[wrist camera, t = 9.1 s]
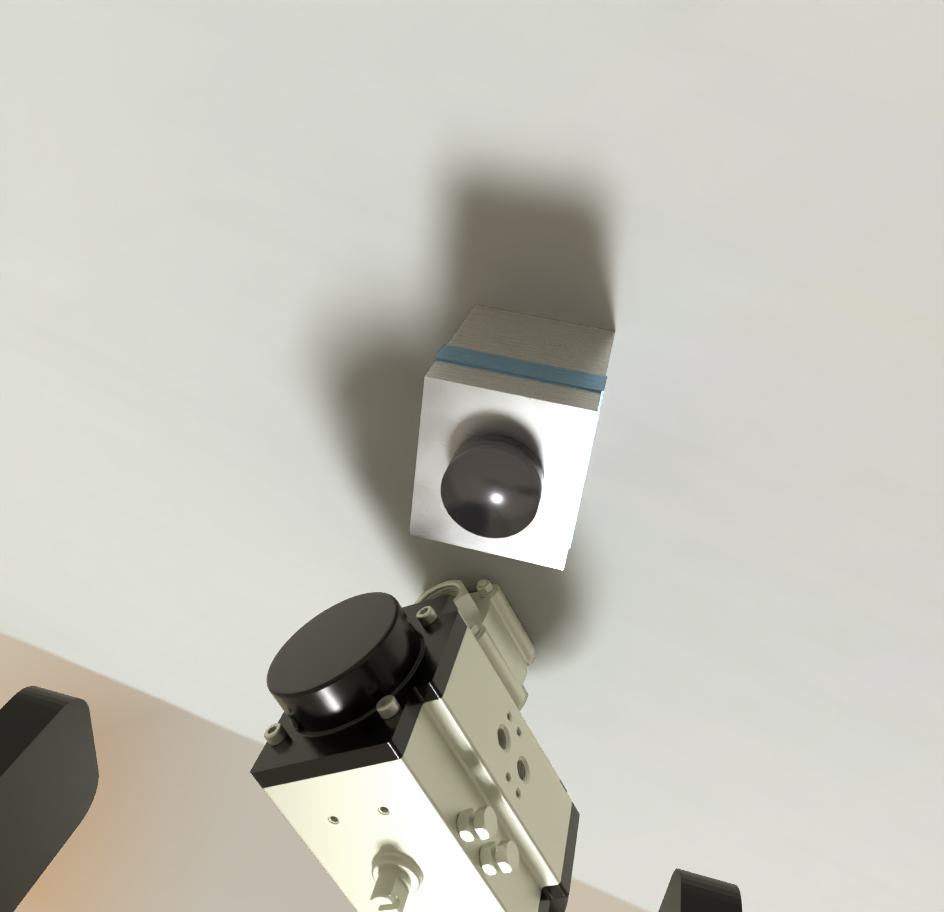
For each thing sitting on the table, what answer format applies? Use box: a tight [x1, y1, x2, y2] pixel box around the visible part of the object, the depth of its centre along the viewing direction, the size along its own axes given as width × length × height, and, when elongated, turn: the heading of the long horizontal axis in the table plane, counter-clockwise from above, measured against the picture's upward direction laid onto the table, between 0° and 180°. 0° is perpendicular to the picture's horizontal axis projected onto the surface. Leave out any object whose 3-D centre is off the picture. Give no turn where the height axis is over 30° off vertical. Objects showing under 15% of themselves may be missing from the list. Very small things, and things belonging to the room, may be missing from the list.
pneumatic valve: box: [250, 579, 580, 912], centre depth 28 cm, size 6×12×12 cm, turn 28°
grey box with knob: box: [409, 305, 615, 570], centre depth 25 cm, size 5×5×7 cm
